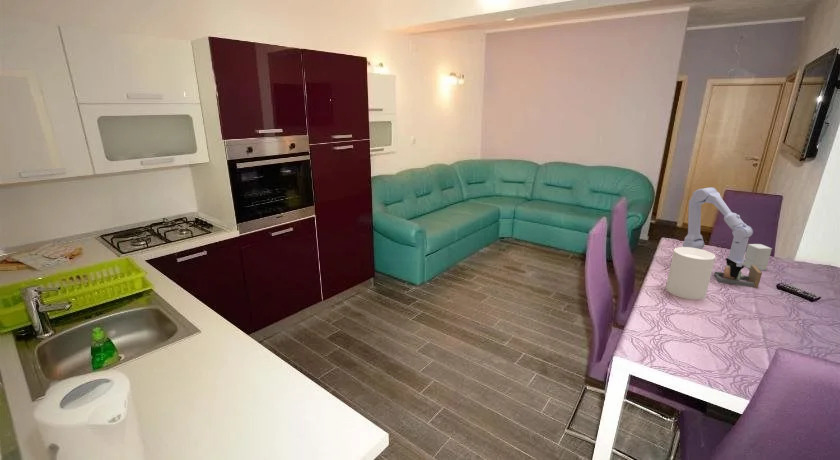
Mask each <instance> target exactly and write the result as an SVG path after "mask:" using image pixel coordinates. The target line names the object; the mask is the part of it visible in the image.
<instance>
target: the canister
mask: <svg viewBox="0 0 840 460" xmlns="http://www.w3.org/2000/svg"><path fill="white" fill-rule="evenodd" d="M715 261H716V255H715V253H713V252H710V251H707V250H705V249H703V248H702V249H697V248H691V247H683V246H680V247H675V248H674V249H673V253H672V259H671V263H670V266H669V270H668V271H669V272H668V276H667V281H666V284H665V285H666V287H665V289H666V291H667V292H668V293H670V294H671V295H674V296H677V297H679V298H682V299H686V300H691V301H692V300H693V301H695V300H696V301H700V300H704V299H706V298H707V292H708V289H709V285H710V280H711V278H712V277H711V276H712V272H713V269H714V268H713V267H714V264H715Z"/></svg>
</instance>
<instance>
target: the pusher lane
mask: <svg viewBox="0 0 840 460" xmlns="http://www.w3.org/2000/svg"><path fill="white" fill-rule="evenodd" d="M723 273H724V271H723V272H721V271H714V274H713V275H714V277H715V278H716V281H717V282H718V283H722V284H730V285H736V286H743V287H750V288H756V289H758V288H759V286H760V282H761V278H762V276H763V272H762V270H759V269H758V268H757V267H756V266H755V265H751V268H749V272H748V275H745V274H743V275H744V277H740V280H733V279H726V278H724V277H723Z"/></svg>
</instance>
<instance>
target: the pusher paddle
mask: <svg viewBox="0 0 840 460" xmlns="http://www.w3.org/2000/svg"><path fill="white" fill-rule="evenodd" d="M744 275H745V274H742V271H741V270H740V272H739V273H738V275H737V276H736V278H735V279H734V280H740V281H741V279H740V277H744Z"/></svg>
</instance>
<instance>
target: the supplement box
mask: <svg viewBox="0 0 840 460" xmlns="http://www.w3.org/2000/svg"><path fill="white" fill-rule="evenodd" d="M772 249H773V248H772V247H769V246H767V245H764V244H761V243H748V244H747V247H746V251H745V254H744V258H745V259H746V261H743V262H742V263H743V264H742V265H744V267H746V268H747V269H750V268H751V265H755V266H756V267H757V268H758V269H759V270H760V271H766V270H767V267H768V263H769V260H770V258H771V253H772Z"/></svg>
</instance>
